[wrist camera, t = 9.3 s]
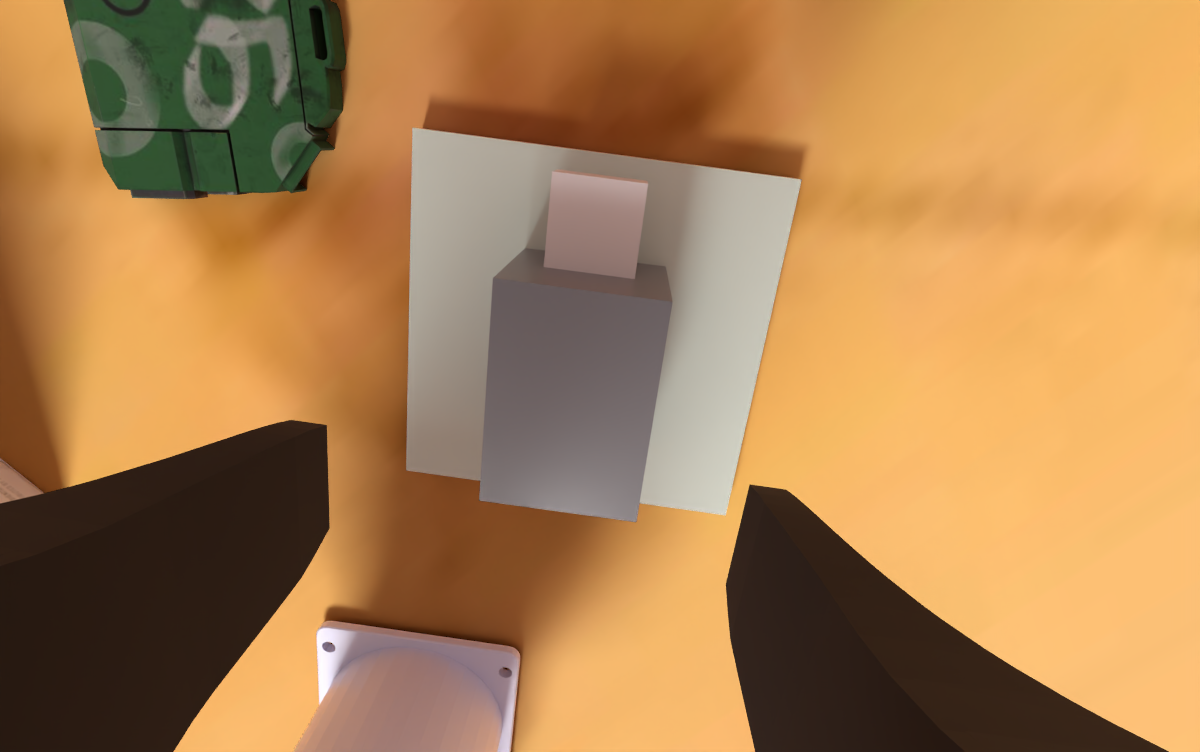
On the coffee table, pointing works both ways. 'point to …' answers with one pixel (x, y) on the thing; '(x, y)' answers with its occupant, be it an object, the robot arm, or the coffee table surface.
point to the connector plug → (576, 357)
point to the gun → (209, 91)
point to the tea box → (14, 484)
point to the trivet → (668, 238)
